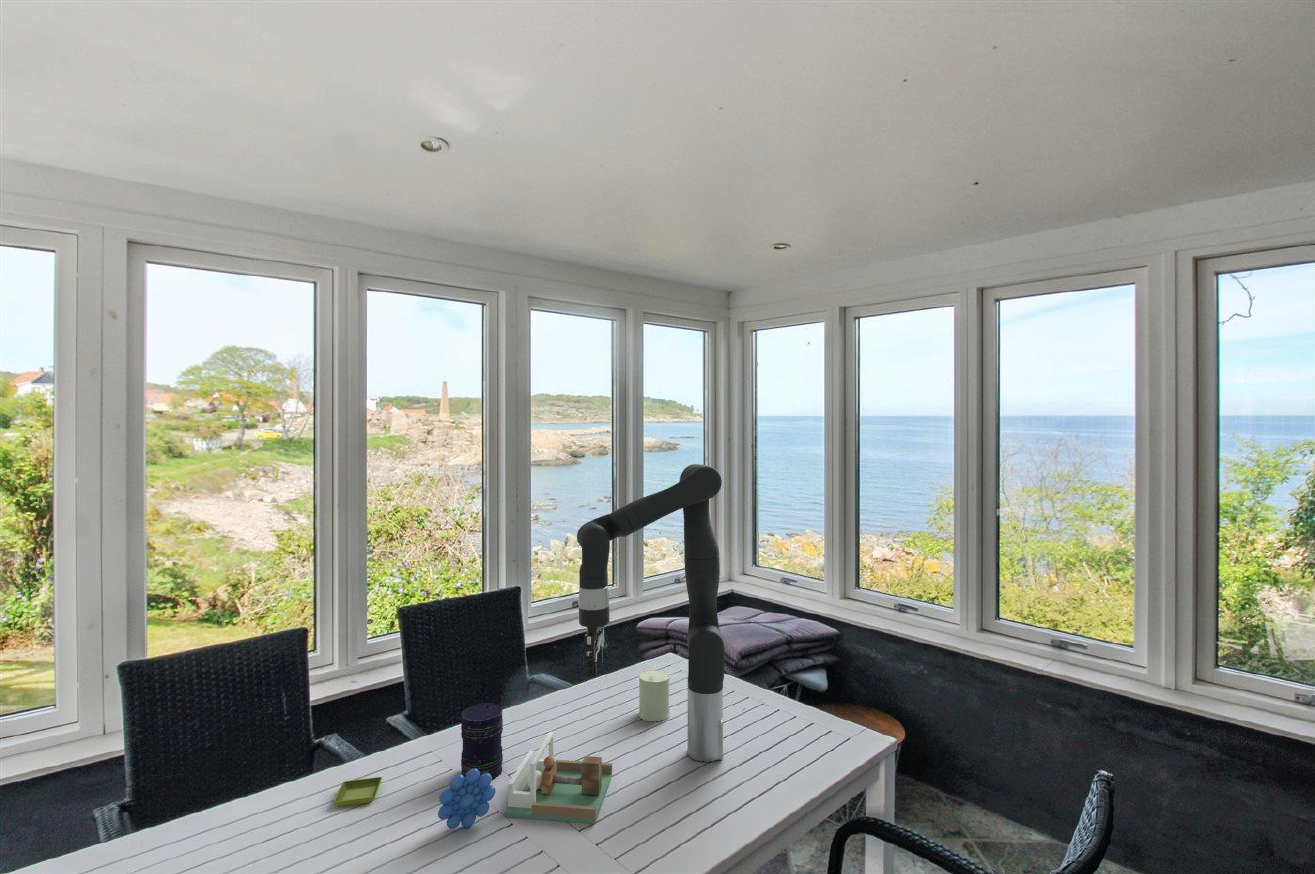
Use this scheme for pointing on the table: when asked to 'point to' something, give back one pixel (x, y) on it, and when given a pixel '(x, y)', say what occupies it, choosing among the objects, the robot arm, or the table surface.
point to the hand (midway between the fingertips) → (595, 670)
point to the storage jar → (482, 739)
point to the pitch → (554, 791)
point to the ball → (538, 780)
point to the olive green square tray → (357, 791)
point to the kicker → (589, 778)
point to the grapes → (466, 798)
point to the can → (654, 695)
